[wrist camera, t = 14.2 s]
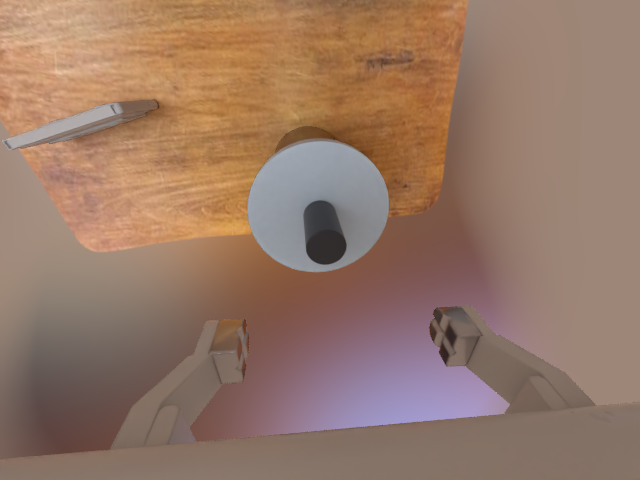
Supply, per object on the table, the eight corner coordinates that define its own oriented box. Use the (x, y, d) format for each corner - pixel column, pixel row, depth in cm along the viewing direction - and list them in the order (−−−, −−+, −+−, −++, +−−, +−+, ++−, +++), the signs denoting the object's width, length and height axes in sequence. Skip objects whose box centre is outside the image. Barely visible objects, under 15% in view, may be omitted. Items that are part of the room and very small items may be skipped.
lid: (393, 137, 20) (431, 156, 14) (376, 261, 25) (399, 308, 20) (239, 138, 19) (218, 159, 13) (257, 267, 24) (247, 317, 19)
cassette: (153, 94, 30) (113, 95, 23) (162, 111, 31) (127, 118, 24) (58, 125, 31) (-7, 136, 24) (70, 142, 32) (11, 156, 25)
